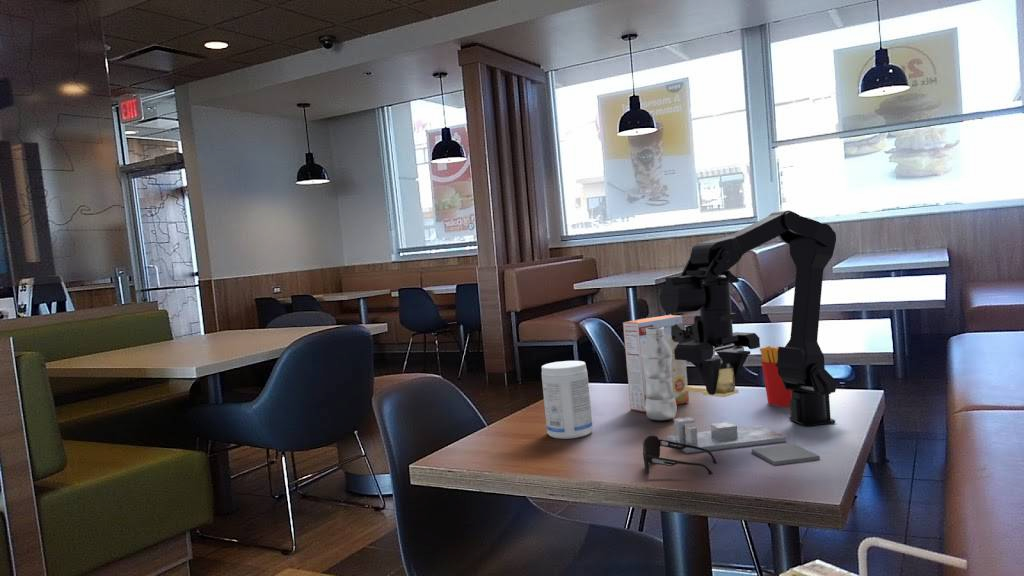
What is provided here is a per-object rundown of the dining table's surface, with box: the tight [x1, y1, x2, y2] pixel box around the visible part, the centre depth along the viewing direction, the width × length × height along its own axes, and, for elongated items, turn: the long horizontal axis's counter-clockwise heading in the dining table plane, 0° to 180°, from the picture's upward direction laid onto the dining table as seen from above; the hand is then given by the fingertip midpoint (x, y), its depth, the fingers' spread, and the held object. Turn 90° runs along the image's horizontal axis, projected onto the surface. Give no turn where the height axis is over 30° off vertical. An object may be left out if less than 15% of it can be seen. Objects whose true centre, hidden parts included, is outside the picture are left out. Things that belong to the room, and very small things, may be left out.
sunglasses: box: [642, 434, 717, 475], centre depth 120 cm, size 11×12×5 cm
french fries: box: [759, 345, 794, 408], centre depth 159 cm, size 9×4×13 cm, turn 39°
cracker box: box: [622, 314, 690, 413], centre depth 166 cm, size 14×6×21 cm, turn 122°
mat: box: [751, 443, 821, 466], centre depth 121 cm, size 8×8×1 cm
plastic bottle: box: [641, 327, 678, 422], centre depth 153 cm, size 6×7×20 cm
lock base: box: [666, 416, 787, 454], centre depth 133 cm, size 19×10×5 cm, turn 97°
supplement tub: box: [541, 360, 593, 440], centre depth 148 cm, size 10×10×15 cm
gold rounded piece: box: [685, 362, 739, 398], centre depth 135 cm, size 10×5×6 cm, turn 40°
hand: (720, 391), depth 133 cm, fingers closed on gold rounded piece, 5 cm apart
